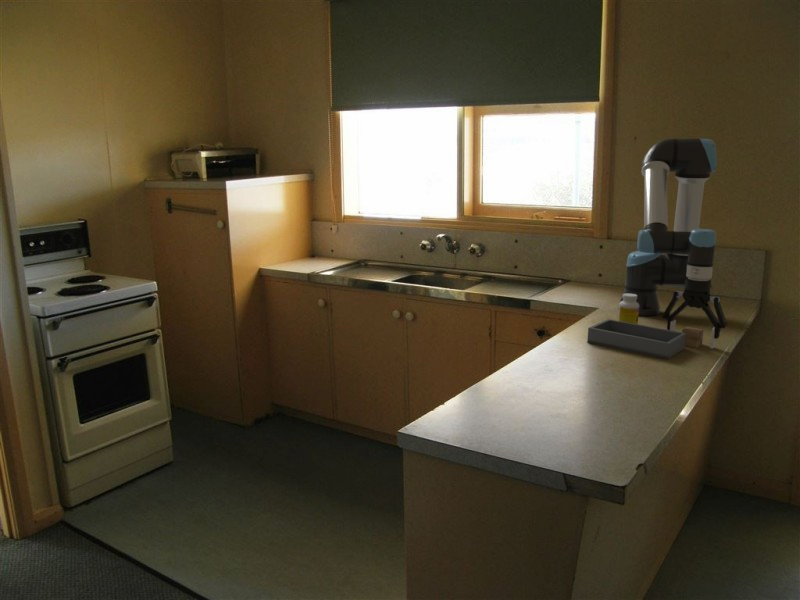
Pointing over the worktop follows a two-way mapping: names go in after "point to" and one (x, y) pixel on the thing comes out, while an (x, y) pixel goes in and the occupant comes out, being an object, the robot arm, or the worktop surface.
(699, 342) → the walnut cube
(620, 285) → the worktop surface
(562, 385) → the worktop surface
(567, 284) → the worktop surface
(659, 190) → the robot arm
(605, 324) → the tray
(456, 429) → the worktop surface
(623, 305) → the supplement bottle
